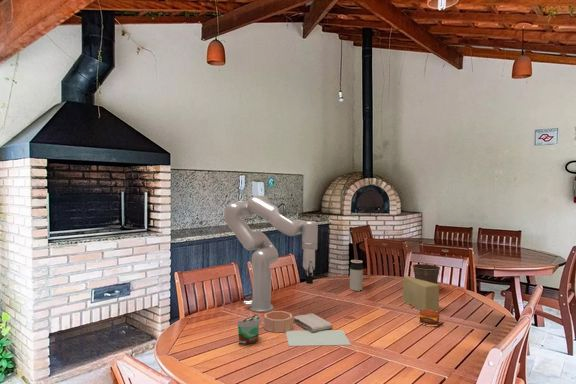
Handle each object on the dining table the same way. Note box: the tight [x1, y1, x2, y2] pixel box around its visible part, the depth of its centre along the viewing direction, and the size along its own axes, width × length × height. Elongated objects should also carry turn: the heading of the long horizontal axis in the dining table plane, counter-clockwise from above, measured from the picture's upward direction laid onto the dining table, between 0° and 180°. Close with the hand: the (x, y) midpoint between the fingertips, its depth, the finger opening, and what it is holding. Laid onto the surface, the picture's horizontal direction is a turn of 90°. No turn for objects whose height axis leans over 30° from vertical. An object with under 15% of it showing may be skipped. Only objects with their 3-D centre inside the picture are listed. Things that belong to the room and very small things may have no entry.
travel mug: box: [349, 259, 364, 292], centre depth 250 cm, size 8×8×18 cm
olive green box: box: [402, 275, 440, 312], centre depth 218 cm, size 22×10×15 cm, turn 25°
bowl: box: [263, 310, 293, 334], centre depth 184 cm, size 13×13×6 cm
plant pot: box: [412, 263, 441, 284], centre depth 247 cm, size 16×16×16 cm
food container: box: [236, 313, 262, 346], centre depth 167 cm, size 12×6×10 cm, turn 148°
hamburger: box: [417, 309, 441, 325], centre depth 193 cm, size 9×10×7 cm
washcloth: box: [292, 312, 333, 332], centre depth 188 cm, size 12×18×3 cm, turn 31°
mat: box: [285, 329, 352, 347], centre depth 173 cm, size 26×16×1 cm, turn 95°
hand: (308, 282), depth 199 cm, fingers open, 2 cm apart
